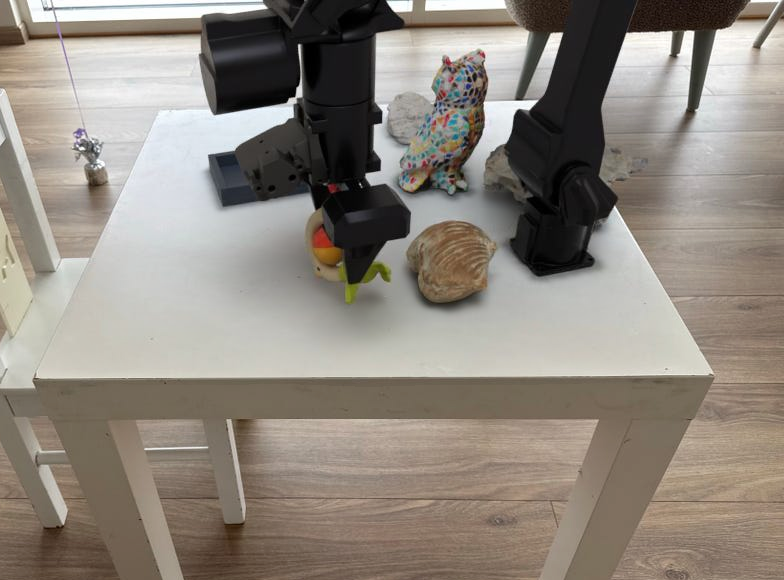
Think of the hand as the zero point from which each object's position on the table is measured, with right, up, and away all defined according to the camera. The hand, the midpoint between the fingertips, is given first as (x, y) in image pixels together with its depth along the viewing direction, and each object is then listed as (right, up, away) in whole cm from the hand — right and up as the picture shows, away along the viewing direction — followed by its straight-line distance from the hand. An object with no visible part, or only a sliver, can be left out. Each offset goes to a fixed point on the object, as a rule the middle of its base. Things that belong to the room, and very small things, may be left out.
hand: (340, 257), depth 68 cm
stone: (+12, +21, +31) cm, 39 cm away
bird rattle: (0, -3, +2) cm, 3 cm away
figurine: (+13, +12, +20) cm, 27 cm away
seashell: (+11, -2, +5) cm, 12 cm away
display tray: (-8, +12, +22) cm, 27 cm away
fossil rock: (+26, +15, +19) cm, 36 cm away
